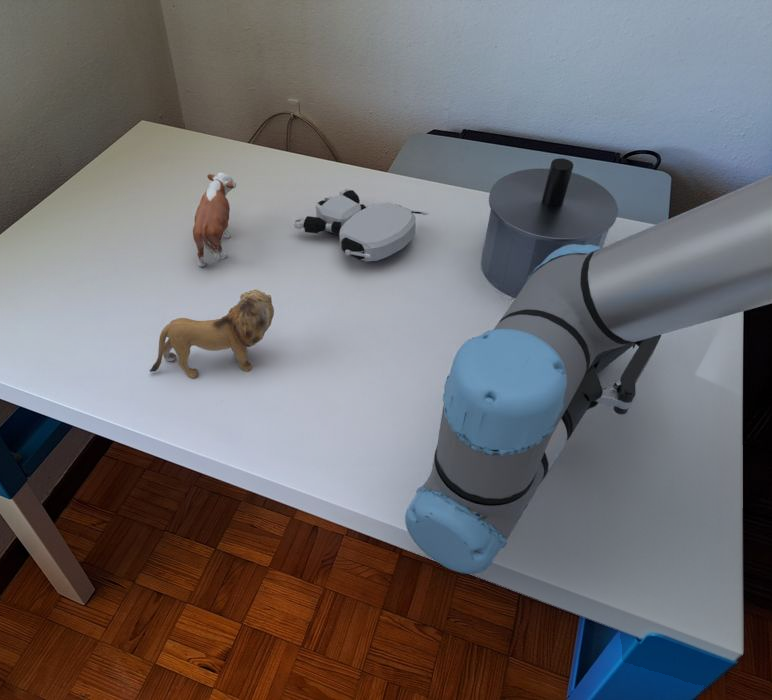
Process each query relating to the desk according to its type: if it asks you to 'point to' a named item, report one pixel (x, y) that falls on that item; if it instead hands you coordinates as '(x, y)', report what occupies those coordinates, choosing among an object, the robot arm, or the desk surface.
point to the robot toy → (363, 225)
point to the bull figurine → (213, 217)
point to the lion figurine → (219, 332)
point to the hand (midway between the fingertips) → (623, 279)
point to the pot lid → (553, 204)
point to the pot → (517, 255)
